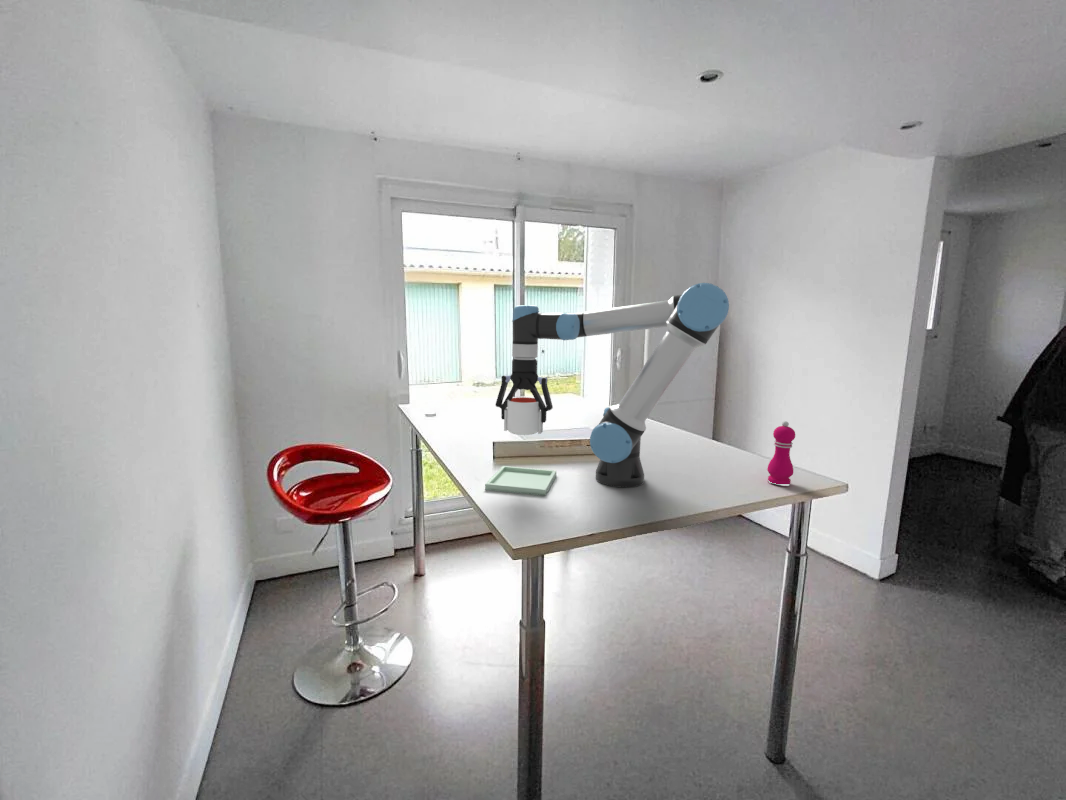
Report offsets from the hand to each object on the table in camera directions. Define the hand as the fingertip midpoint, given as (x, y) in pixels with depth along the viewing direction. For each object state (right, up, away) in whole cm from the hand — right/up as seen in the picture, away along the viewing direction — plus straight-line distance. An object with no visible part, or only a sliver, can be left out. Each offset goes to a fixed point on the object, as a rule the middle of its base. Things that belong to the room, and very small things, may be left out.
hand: (523, 431), depth 142 cm
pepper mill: (+80, -17, +4) cm, 82 cm away
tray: (0, -16, +1) cm, 16 cm away
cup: (0, 0, 0) cm, 1 cm away
